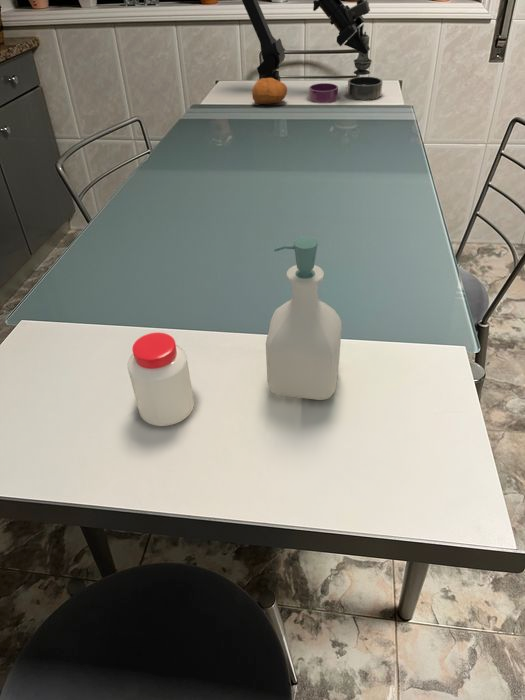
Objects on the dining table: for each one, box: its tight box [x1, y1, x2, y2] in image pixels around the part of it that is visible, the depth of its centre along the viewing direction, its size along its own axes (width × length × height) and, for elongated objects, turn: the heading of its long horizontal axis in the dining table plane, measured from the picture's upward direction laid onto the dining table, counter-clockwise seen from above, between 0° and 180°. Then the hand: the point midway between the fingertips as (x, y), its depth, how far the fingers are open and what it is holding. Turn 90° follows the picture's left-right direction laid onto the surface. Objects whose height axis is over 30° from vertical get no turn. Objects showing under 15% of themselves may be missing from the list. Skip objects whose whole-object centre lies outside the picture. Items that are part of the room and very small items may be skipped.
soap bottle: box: [265, 236, 343, 401], centre depth 73 cm, size 10×10×23 cm
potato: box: [251, 78, 288, 105], centre depth 181 cm, size 9×11×8 cm
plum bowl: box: [308, 82, 339, 104], centre depth 184 cm, size 10×10×4 cm
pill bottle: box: [127, 332, 195, 427], centre depth 74 cm, size 8×8×11 cm
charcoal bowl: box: [346, 76, 383, 101], centre depth 185 cm, size 11×11×4 cm
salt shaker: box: [353, 30, 373, 76], centre depth 178 cm, size 6×6×12 cm
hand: (367, 51), depth 177 cm, fingers closed on salt shaker, 3 cm apart
